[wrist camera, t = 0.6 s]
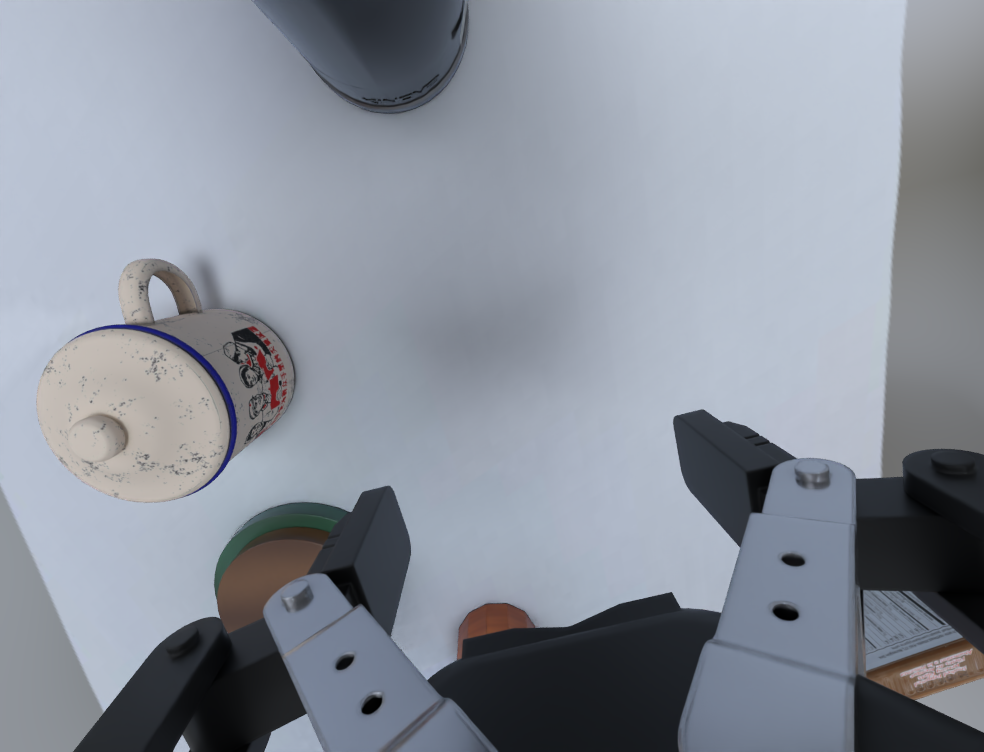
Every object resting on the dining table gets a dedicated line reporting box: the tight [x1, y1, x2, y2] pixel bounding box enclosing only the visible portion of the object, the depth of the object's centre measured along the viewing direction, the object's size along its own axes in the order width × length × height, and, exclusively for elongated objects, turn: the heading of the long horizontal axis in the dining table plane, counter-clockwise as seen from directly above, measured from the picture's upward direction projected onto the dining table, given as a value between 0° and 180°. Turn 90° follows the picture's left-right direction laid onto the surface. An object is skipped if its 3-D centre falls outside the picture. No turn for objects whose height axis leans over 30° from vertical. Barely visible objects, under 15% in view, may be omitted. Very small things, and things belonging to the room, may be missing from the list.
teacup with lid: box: [37, 259, 294, 503], centre depth 25 cm, size 12×9×12 cm
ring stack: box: [214, 503, 349, 633], centre depth 34 cm, size 13×13×3 cm
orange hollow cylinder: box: [457, 604, 535, 660], centre depth 33 cm, size 6×6×8 cm
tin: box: [864, 590, 984, 700], centre depth 32 cm, size 15×3×8 cm, turn 114°
